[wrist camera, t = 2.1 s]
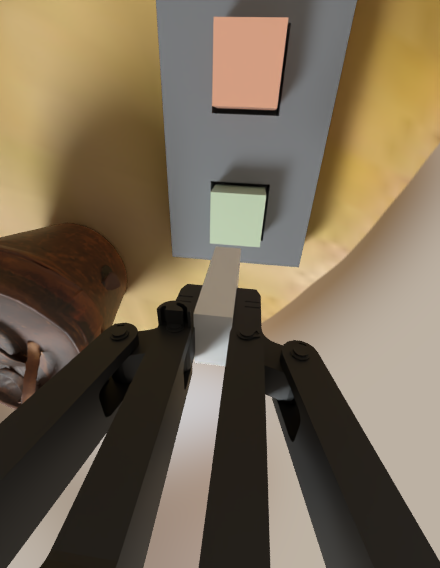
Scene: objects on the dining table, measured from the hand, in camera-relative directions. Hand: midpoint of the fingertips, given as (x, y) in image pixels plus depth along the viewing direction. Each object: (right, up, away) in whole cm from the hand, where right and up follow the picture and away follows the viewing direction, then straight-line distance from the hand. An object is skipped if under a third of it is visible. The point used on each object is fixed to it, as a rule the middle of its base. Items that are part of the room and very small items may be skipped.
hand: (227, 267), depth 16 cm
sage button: (+1, +7, +11) cm, 13 cm away
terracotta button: (+2, +16, +5) cm, 17 cm away
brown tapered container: (-19, +1, +21) cm, 29 cm away
